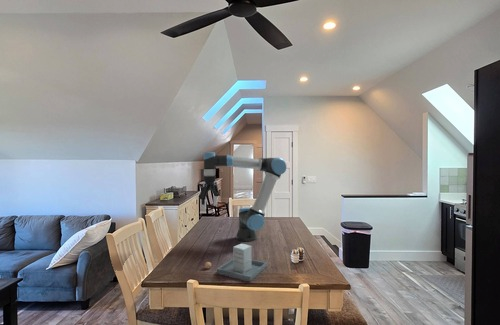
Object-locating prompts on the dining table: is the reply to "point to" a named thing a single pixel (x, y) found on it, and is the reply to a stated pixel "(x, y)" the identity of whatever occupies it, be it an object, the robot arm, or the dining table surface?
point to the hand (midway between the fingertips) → (209, 207)
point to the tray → (247, 276)
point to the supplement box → (242, 258)
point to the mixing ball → (207, 265)
